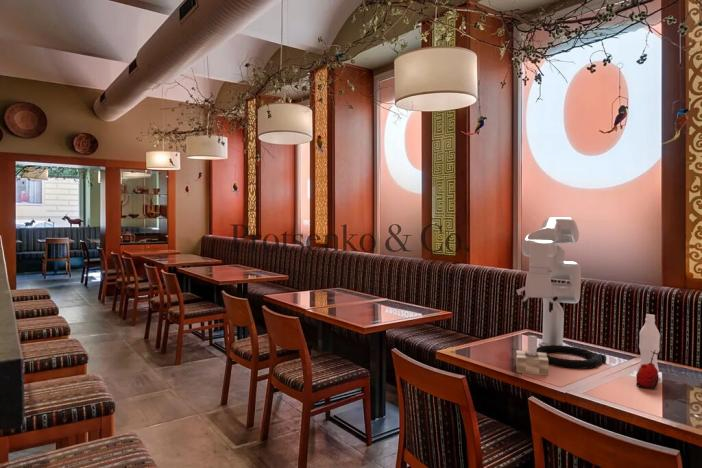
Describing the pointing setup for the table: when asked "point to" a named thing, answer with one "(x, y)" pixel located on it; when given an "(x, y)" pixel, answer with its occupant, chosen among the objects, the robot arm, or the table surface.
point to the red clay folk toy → (647, 375)
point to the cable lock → (593, 357)
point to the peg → (532, 346)
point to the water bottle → (649, 341)
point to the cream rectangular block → (532, 363)
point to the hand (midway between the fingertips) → (537, 311)
